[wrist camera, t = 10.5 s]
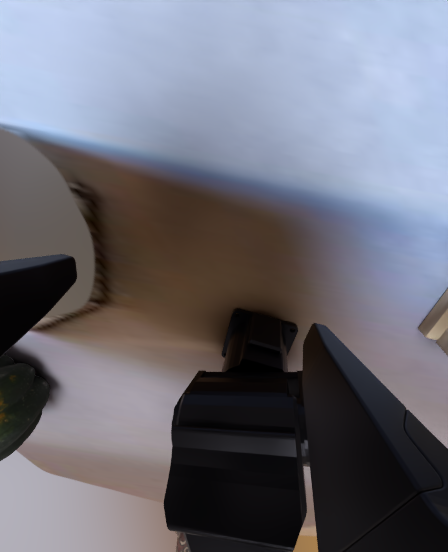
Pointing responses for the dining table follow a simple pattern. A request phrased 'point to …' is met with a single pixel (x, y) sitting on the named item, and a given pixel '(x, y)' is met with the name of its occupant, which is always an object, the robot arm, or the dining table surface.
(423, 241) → the dining table surface
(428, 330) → the grey metal u-shaped piece
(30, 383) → the squash
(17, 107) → the dining table surface
